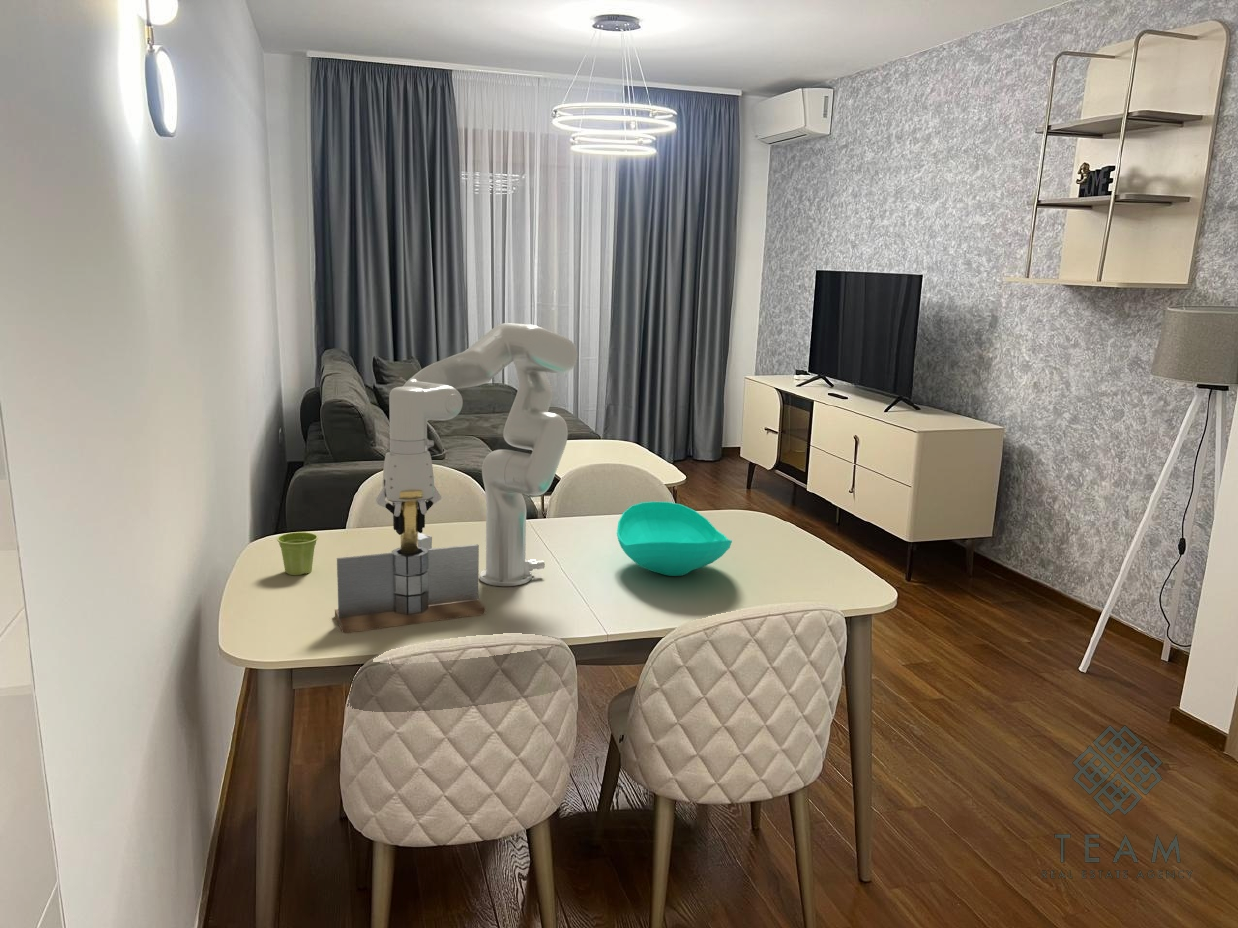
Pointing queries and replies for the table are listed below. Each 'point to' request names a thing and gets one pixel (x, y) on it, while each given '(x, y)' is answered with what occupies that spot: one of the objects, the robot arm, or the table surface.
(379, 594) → the hinge frame
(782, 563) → the table surface
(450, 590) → the swing leaf
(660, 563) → the table top decor
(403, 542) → the hinge pin
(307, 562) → the plant pot
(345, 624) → the base board
